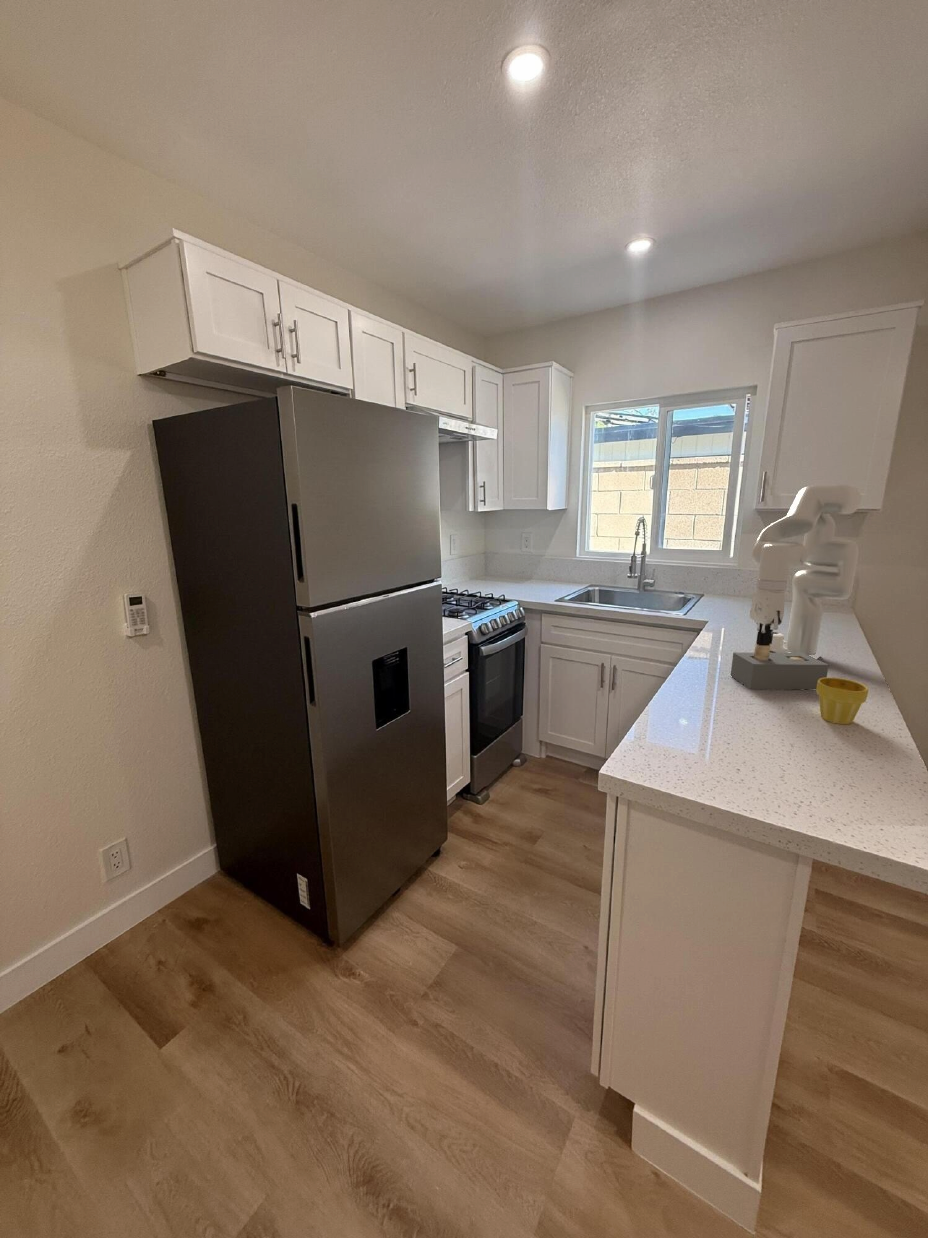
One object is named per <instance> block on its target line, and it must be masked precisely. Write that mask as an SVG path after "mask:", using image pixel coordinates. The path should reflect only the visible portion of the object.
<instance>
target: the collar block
mask: <svg viewBox="0 0 928 1238" xmlns="http://www.w3.org/2000/svg"><path fill="white" fill-rule="evenodd" d="M790 657H797V658H802V659H804V660H805V661H794V660H792V659H790ZM731 661H732V662H731V667H730V668H731V670H730V675H731V676H732V677H731V676H730V677H731V678H732V679H734V678H735V679H736V681H737V680H738V681H739V682H738V681H737V682H738V683H740V684H741V683H742V684H741V685H743V684H744V685H745V686H744V685H743V686H744V687H746V686H747V687H748V688H747V687H746V688H747V689H748V690H755V689H817V682H818V680H819V679H820V678H825V677H828V671H829V666H830V664H828V663H826V662H823V661H821V660H820V659H815V658H813V657H811V656H809V655H806V654H804V653H769V660H768V661H757V660H756V659H754V652H735V651H734V652H733V654H732V660H731ZM735 679H734V680H735Z"/></svg>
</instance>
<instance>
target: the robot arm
mask: <svg viewBox="0 0 928 1238" xmlns="http://www.w3.org/2000/svg"><path fill="white" fill-rule="evenodd" d="M861 498H862V495H861V492H860V490H859V488H857V487H855V486H851V485H846V484H813V485H807V486H805V487H803V488H801V489H800V490H799V491H798V493H797V494H796V496H795V498H794V500H793V501H792V503H791V505H790V508H789V510H788V511H787V514H786V516H784V517H782V518H781V519H778V520H777V521H775V522H772V523H770V525H768V526H766V527H765V528H763V530H762V531H761V532H760V534H759V535H758V537H757V539H756V541H755V542H754V545H753V548H752V550H751V559H752V562H753V563H754V564H756V565H758V574H757V581H756V588H755V590H754V594H753V596H752V600H751V606H750V609H749V618H750V620H752V621H754V623H755V624H756V629H757V636H756V642H755V644H758V645H762V646H769V645H770V639H771V633H773V632H774V631H775V630H777V631H778V630H779V625H781V624H783V623H782V622H783V619H784V616H785V615H784V613H785V603H786V599H785V598H786V595H785V592H786V589H787V582H788V577H789V570H790V568H793V569H794V568H795V569H796V568H799V567H801V566H802V565H803V564H804V565H807V566H812V567H813V566H814V567H824V568H835V569H837V571H834V570H833V571H831V570H820V569H819V570H818V569H802V570H801V569H800V570H798V571H796V573H795V574H794V575H793V577H792V585H791V588H792V589H791V590H792V600H791V610H790V615H789V616H790V617H789V622H788V623H789V624H788V629H787V635H786V639H784V641H783V645H784V647H786V648H788V649H789V650H788V652H791V653H804V654H806V655H815V654H816V652H817V650H818V643H819V637H820V632H821V625H822V621H823V620H822V619H823V614H824V608H823V605H822V604H821V602H820V601H819V599H821V598H822V599H830V600H842V601H843V600H846V599H848V598H850V596H851V594H852V592H853V588H854V582H855V576H856V571H857V565H858V558H859V548H858V544H857V543H856V542H855V541H853V540H849V539H847V540H846V539H835V531H836V523H835V520H834V518H833V517H832V516H831V515H851V514H853V513H855V512H856V511H857V510H858V508H859V507H860V504H861V500H862V499H861ZM801 535H804V536H803V543H799V542H785V541H782V540H785V539H789V538H795V537H798V536H801Z"/></svg>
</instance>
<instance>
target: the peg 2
mask: <svg viewBox="0 0 928 1238" xmlns="http://www.w3.org/2000/svg"><path fill="white" fill-rule="evenodd" d="M790 659H792V660H794V661H805V660H804V659H802V658H797V657H790Z"/></svg>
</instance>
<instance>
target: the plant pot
mask: <svg viewBox="0 0 928 1238" xmlns="http://www.w3.org/2000/svg"><path fill="white" fill-rule="evenodd" d="M815 691H816V693H817V695H818V699H819V700H818V701H819V709H820V717H821V718H822V719H823V720H824V721H828V722H830V723H832V724H837V725H850V724H852V723H853V722H854V721H855V718H856V716H857V714H858V712H859V710H860V708H861V706H862V704H864V703H866V701H867V698H868V694H869V687H868V686H867V685H865V684H863V683H861V682H858V681H855V680H852V679H847V678H842V677H834V676H833V677H832V676H831V677H829V676H827V677H825V678H820V679H819V680H818V682H817V689H816V690H815Z"/></svg>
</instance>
